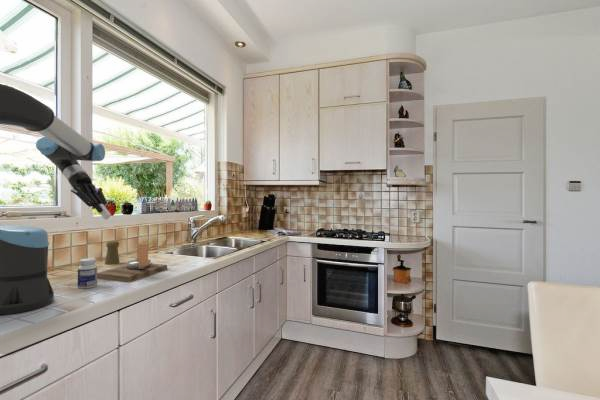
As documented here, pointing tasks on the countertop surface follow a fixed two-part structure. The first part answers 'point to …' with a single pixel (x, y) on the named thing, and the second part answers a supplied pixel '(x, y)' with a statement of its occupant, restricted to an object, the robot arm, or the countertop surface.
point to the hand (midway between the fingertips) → (107, 217)
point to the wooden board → (129, 273)
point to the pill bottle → (87, 273)
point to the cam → (140, 258)
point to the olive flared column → (112, 253)
